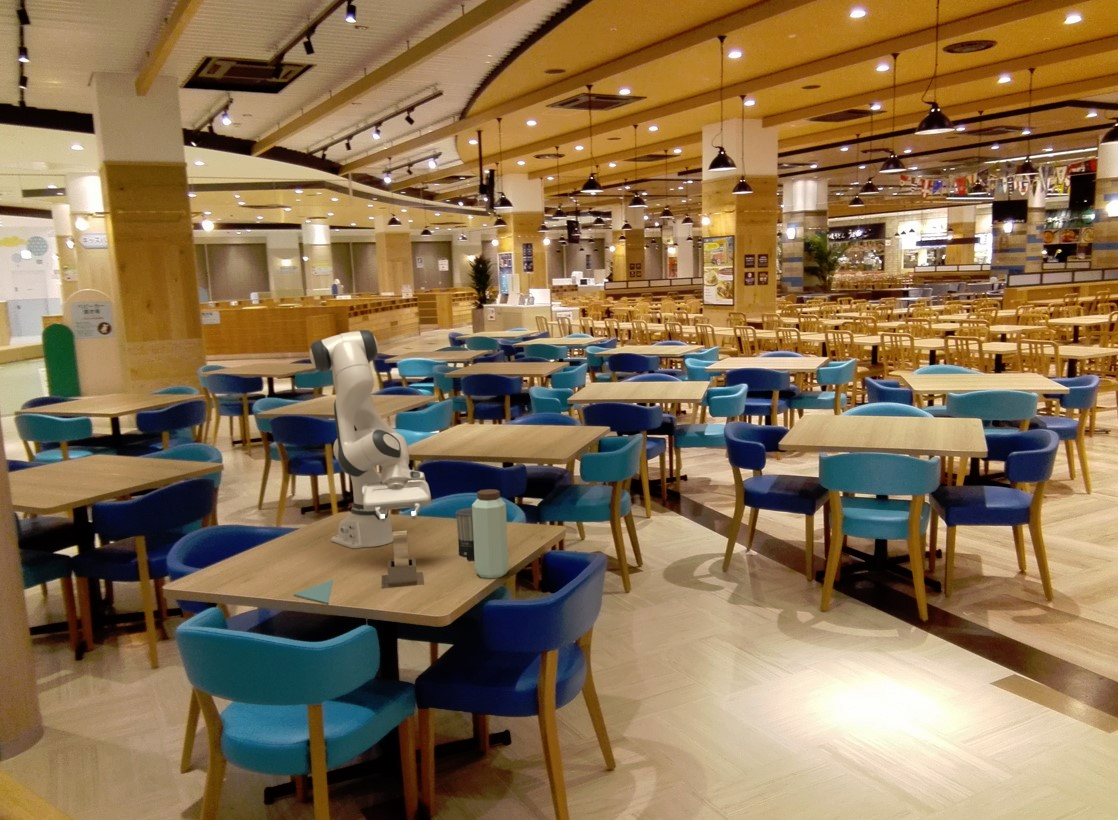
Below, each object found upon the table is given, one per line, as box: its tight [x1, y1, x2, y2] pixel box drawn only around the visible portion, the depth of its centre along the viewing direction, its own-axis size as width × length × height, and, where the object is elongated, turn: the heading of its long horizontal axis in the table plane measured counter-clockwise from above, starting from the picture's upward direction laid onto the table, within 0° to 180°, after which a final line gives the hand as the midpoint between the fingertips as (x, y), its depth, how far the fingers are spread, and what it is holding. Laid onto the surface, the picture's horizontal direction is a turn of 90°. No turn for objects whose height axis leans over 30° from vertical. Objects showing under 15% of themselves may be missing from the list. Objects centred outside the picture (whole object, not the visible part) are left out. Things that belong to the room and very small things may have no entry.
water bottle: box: [471, 488, 510, 579], centre depth 257 cm, size 10×10×25 cm
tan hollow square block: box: [380, 557, 425, 589], centre depth 252 cm, size 12×12×6 cm
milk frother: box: [454, 507, 475, 561], centre depth 278 cm, size 14×16×15 cm
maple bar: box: [392, 530, 409, 567], centre depth 252 cm, size 4×4×14 cm
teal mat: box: [293, 579, 334, 605], centre depth 247 cm, size 16×16×1 cm
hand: (398, 519), depth 259 cm, fingers open, 8 cm apart
